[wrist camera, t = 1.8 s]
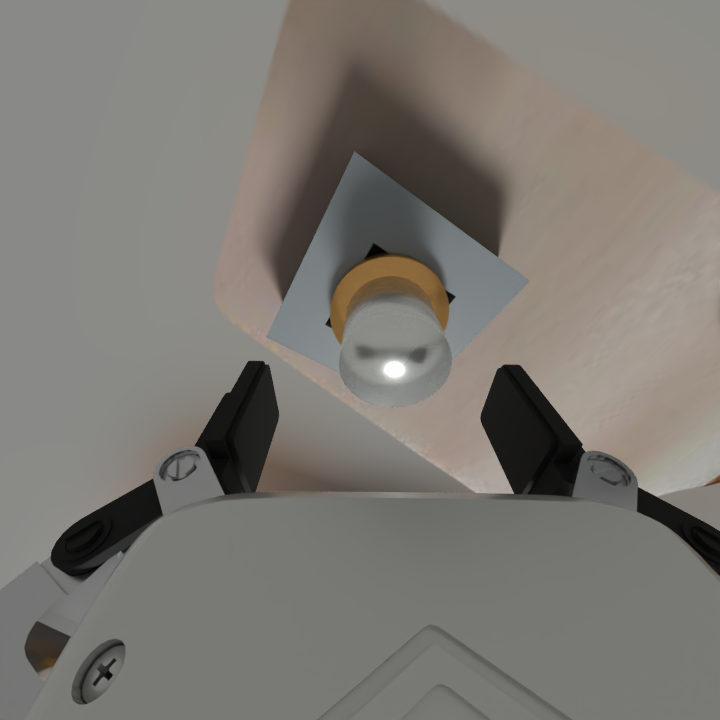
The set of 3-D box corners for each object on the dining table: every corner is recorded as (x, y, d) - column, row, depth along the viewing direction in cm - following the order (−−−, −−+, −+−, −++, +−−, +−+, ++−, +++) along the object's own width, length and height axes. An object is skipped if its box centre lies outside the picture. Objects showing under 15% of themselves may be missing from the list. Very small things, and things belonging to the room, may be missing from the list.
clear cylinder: (442, 239, 19) (494, 295, 11) (426, 332, 23) (456, 423, 15) (335, 236, 19) (311, 290, 11) (338, 330, 23) (321, 418, 15)
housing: (358, 153, 18) (354, 151, 13) (498, 257, 21) (529, 281, 17) (284, 306, 24) (266, 337, 20) (402, 368, 27) (408, 405, 23)
